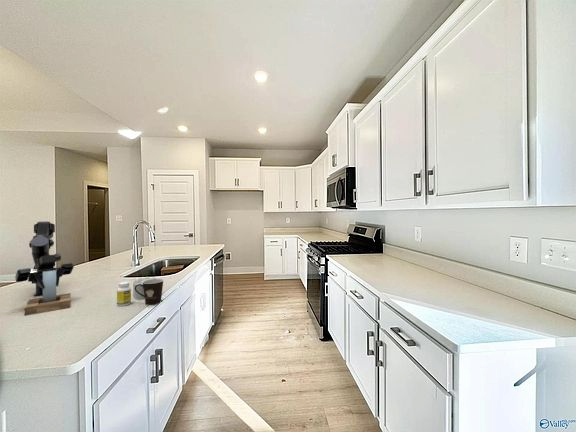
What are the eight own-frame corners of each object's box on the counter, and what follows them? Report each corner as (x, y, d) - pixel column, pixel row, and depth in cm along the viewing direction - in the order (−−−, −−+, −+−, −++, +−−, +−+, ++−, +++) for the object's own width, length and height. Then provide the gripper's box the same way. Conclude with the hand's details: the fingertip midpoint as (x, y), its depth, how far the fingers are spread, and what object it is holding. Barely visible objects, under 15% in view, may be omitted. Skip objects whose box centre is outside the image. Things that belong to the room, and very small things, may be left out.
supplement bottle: (124, 306, 114) (124, 284, 114) (113, 305, 115) (113, 284, 115) (133, 302, 119) (133, 281, 119) (123, 301, 121) (123, 281, 120)
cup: (136, 300, 122) (136, 282, 122) (130, 294, 132) (130, 277, 132) (159, 296, 129) (159, 279, 129) (153, 290, 139) (153, 274, 139)
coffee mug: (167, 300, 122) (167, 279, 122) (152, 306, 114) (152, 284, 114) (148, 298, 126) (148, 277, 126) (133, 303, 118) (133, 282, 118)
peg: (43, 302, 114) (43, 270, 114) (56, 300, 117) (56, 269, 117) (42, 304, 111) (42, 272, 111) (55, 302, 114) (55, 271, 114)
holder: (29, 306, 115) (29, 299, 115) (70, 299, 124) (70, 293, 124) (24, 315, 104) (24, 308, 104) (69, 307, 113) (69, 300, 113)
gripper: (16, 250, 108) (24, 280, 102) (72, 246, 124) (81, 271, 118) (12, 267, 112) (19, 296, 106) (66, 260, 128) (74, 286, 122)
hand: (50, 287), depth 113 cm, fingers closed on peg, 4 cm apart
